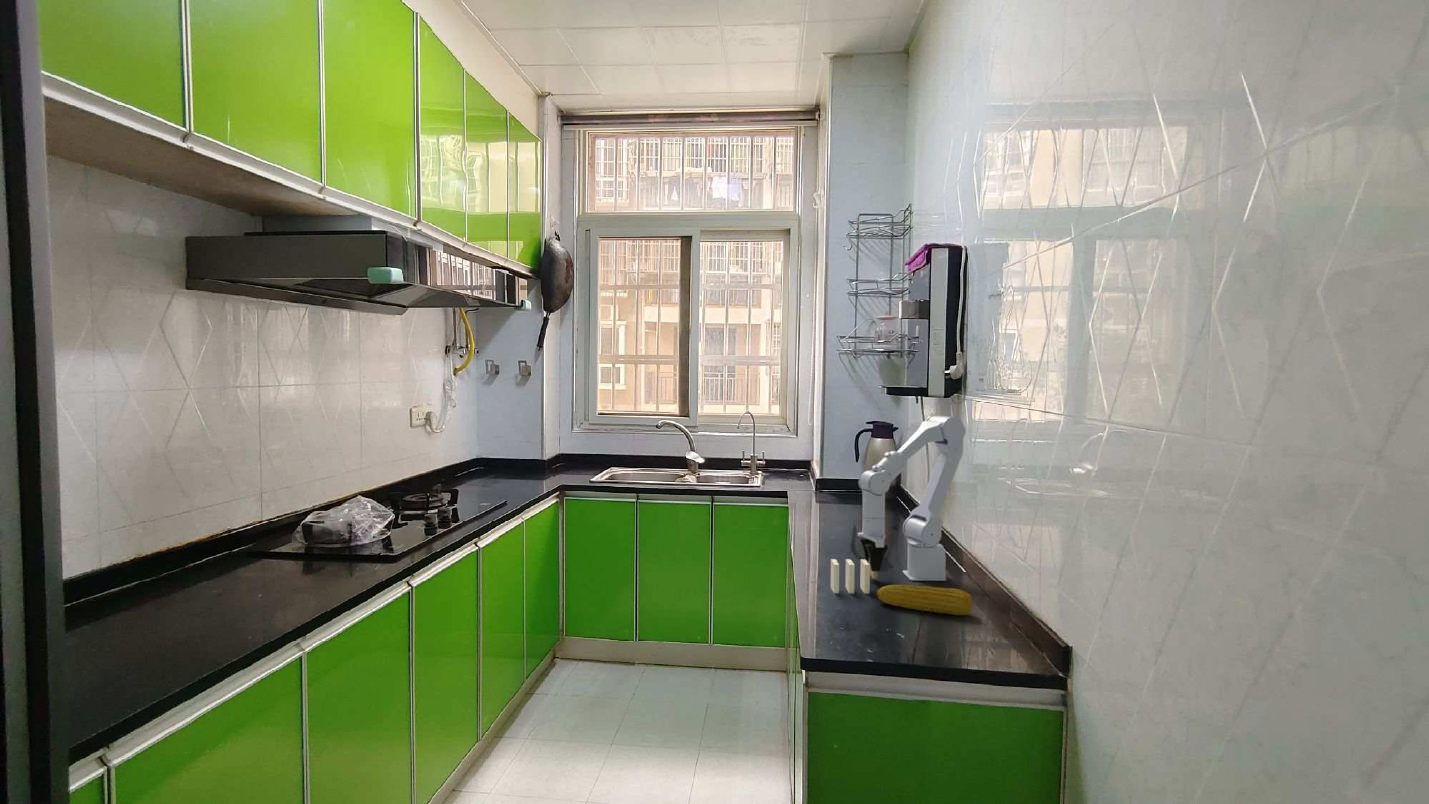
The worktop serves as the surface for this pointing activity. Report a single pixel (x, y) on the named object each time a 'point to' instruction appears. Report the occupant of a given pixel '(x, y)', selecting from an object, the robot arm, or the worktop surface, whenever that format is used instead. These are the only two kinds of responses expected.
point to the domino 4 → (873, 573)
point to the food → (927, 598)
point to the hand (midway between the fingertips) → (873, 567)
